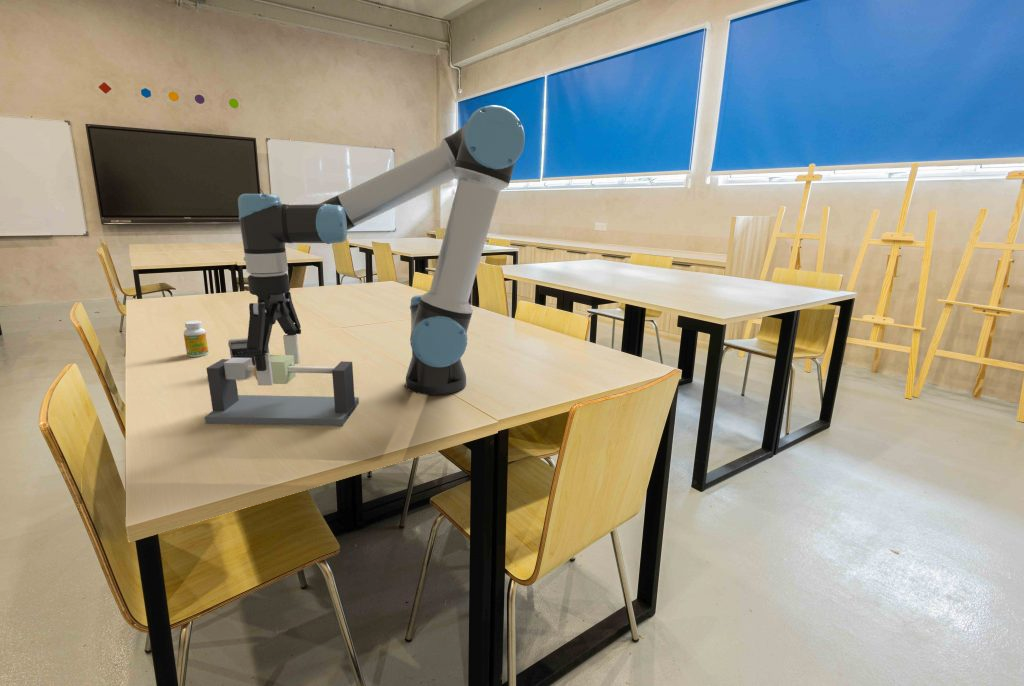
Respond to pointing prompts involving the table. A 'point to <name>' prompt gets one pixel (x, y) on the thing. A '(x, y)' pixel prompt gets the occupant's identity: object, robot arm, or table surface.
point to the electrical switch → (240, 349)
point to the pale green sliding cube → (281, 368)
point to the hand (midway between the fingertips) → (280, 373)
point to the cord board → (278, 397)
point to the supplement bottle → (195, 339)
